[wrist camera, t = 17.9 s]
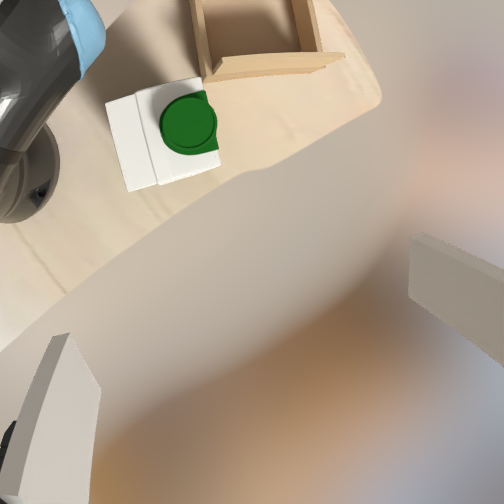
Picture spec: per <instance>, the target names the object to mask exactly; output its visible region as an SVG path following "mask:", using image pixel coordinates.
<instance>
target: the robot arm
mask: <svg viewBox="0 0 504 504" xmlns="http://www.w3.org/2000/svg"><path fill="white" fill-rule="evenodd" d="M105 42H106V30H105V27H104V24H103V21H102V19H101V17H100V15H99V13H98V12H97V10H96V8H95V7H94V5H93V4H92V2H91V1H90V0H0V223H17V222H21V221H23V220H26V219H28V218H29V217H31V216H33V215H34V214H36V213H37V212H38V211H40V210H41V209H42V208H43V207H44V206H45V205H46V203H47V202H48V201H49V199H50V197H51V196H52V194H53V192H54V190H55V187H56V184H57V181H58V176H59V169H60V157H59V150H58V146H57V143H56V140H55V138H54V135H53V134H52V132H51V130H50V129H49V128H48V126H47V125H46V124H45V122H46V121H47V119H48V118H49V117H50V115H51V114H52V113H53V111H54V110H55V109H56V107H57V106H58V105H59V103H60V102H61V101H62V99H63V98H64V97H65V96H66V94H67V93H68V92H69V91H70V89H71V88H72V87H73V86H74V84H75V83H76V82H80V81H81V80H82V78H83V77H84V74H85V71H86V70H87V69H88V68H89V67H90V65H91V64H92V63H93V62H94V61H95V59H96V58H97V57H98V56H99V55H100V54H101V52H102V51H103V49H104V47H105ZM409 261H410V262H409V292H408V297H410V298H411V299H412V300H414V301H415V302H417V303H418V304H420V305H421V306H422V307H424V308H425V309H427V310H428V311H429V312H431V313H432V314H434V315H435V316H436V317H438V318H439V319H441V320H442V321H443V322H445V323H446V324H447V325H449V326H450V327H451V328H453V329H454V330H456V331H457V332H458V333H460V334H461V335H462V336H464V337H465V338H466V339H468V340H469V341H470V342H472V343H473V344H475V345H476V346H477V347H478V348H480V349H481V350H482V351H484V352H485V353H486V354H488V355H489V356H490V357H491V358H493V359H494V360H495V361H497V362H498V363H499V364H501V365H502V366H503V367H504V270H503V269H501V268H499V267H497V266H495V265H493V264H491V263H489V262H487V261H485V260H483V259H481V258H478V257H477V256H474V255H472V254H470V253H468V252H466V251H464V250H461V249H459V248H457V247H455V246H453V245H450V244H448V243H446V242H444V241H441V240H439V239H437V238H434V237H432V236H430V235H428V234H425V233H420V234H417V235H414V236H411V237H410V260H409ZM101 391H102V390H101V388H100V387H99V385H98V383H97V382H96V380H95V379H94V377H93V375H92V373H91V372H90V370H89V368H88V366H87V365H86V363H85V361H84V359H83V357H82V355H81V354H80V351H79V350H78V348H77V346H76V344H75V342H74V340H73V338H72V336H71V334H70V333H66V334H63V335H58V336H53V337H52V339H51V341H50V343H49V345H48V348H47V350H46V352H45V354H44V356H43V358H42V361H41V363H40V365H39V367H38V369H37V372H36V374H35V376H34V379H33V381H32V384H31V386H30V388H29V391H28V393H27V396H26V398H25V401H24V403H23V406H22V409H21V411H20V414H19V417H18V419H17V421H13V422H12V424H11V425H10V426H9V428H8V429H7V430H6V432H5V434H4V436H3V439H2V442H1V445H0V446H1V448H0V504H88V503H89V487H90V475H91V463H92V454H93V446H94V438H95V429H96V423H97V416H98V409H99V403H100V397H101Z"/></svg>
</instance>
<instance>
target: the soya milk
mask: <svg viewBox="0 0 504 504" xmlns="http://www.w3.org/2000/svg"><path fill="white" fill-rule="evenodd" d="M105 107H106V111H107V116H108V120H109V125H110V129H111V133H112V137H113V141H114V145H115V149H116V153H117V156H118V160H119V164H120V167H121V171H122V174H123V178H124V181H125V185H126V188H127V191H128V192H130V191H134V190H137V189H141V188H144V187H148V186H152V185H155V184H159V185H164V184H167V183H170V182H173V181H176V180H179V179H183V178H186V177H189V176H193V175H196V174H199V173H202V172H204V171H207V170H210V169H212V168H215V167H217V166H220V165H221V161H220V157H219V153H218V149H219V147H218V143H217V138H216V129H217V117H216V114H215V112H214V109H213V108H212V107H211V106H210V105H209V103H208V100H207V96H206V91H204V89H203V84H202V80H201V77H194V78H189V79H183V80H178V81H173V82H169V83H165V84H161V85H157V86H153V87H150V88H145V89H141V90H138V91H136V92H135V94H132V95H129V96H125V97H122V98H119V99H116V100H113V101H110V102H107V103H105Z"/></svg>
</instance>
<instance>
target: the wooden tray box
mask: <svg viewBox="0 0 504 504" xmlns="http://www.w3.org/2000/svg"><path fill="white" fill-rule="evenodd" d="M189 3H190V10H191V16H192V23H193V29H194V36H195V42H196V49H197V55H198V61H199V68H200V74H201V80H202V84H203V83H209V82H216V81H223V80H231V79H239V78H248V77H258V76H270V75H284V74H303V73H312V72H314V71H317V70H319V69H322V68H325V67H326V66H325V65H327V64H330V63H332V62H335V61H337V60H340V59H343V58H346V57H345V53H338V52H323V50H322V44H321V39H320V34H319V29H318V24H317V20H316V15H315V10H314V6H313V2H312V0H291V4H292V8H293V13H294V18H295V23H296V28H297V33H298V38H299V43H300V48H301V52H287V53H266V54H252V55H240V56H230V57H222V58H221V60H220V61H219V62H218V64H217V65H216V67H215V68H214V69H212V64H211V57H210V51H209V45H208V39H207V33H206V26H205V20H204V14H203V8H202V1H201V0H189Z"/></svg>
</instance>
